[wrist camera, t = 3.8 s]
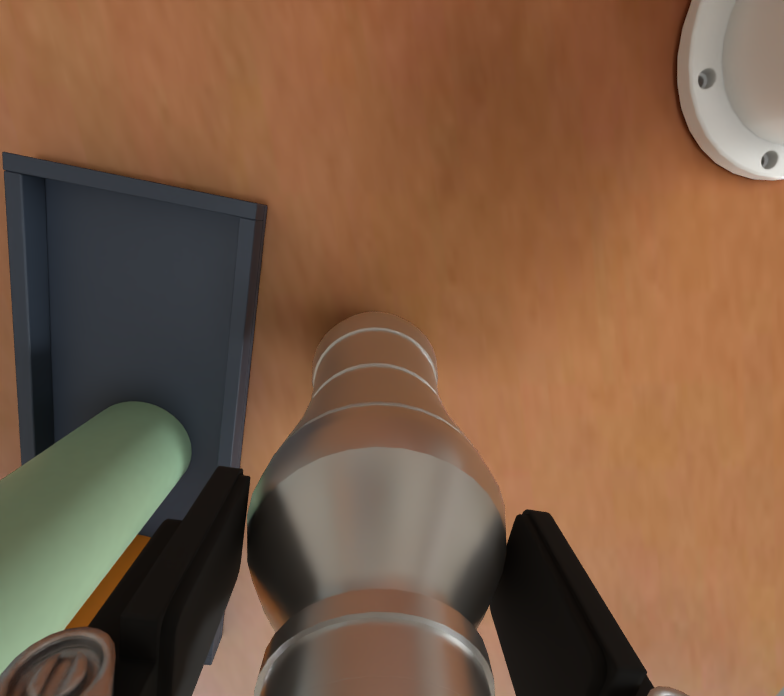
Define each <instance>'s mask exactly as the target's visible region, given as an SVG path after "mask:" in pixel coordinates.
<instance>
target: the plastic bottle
mask: <svg viewBox="0 0 784 696" xmlns="http://www.w3.org/2000/svg"><path fill="white" fill-rule="evenodd" d="M437 382H438V372H437V360H436V356H435V353H434V350H433V347H432V345H431V344H430V342H429V340H428V338H427V337H426V336H425V335H424V334H423V333H422V332H421V330H420V329H418V328H417V327H416V326H414V325H413V324H412V323H410V322H409V321H407V320H405V319H403V318H401V317H399V316H397V315H393V314H390V313H386V312H375V311H373V312H364V313H360V314H356V315H353V316H351V317H349V318H347V319H345V320H343V321H341V322H339V323H338V324H336V325H335V326H334V327H333V328H332V329H330V330H329V331H328V332H327V333H326V335H325V336H324V337H323V338H322V340H321V341H320V343H319V345H318V347H317V349H316V351H315V355H314V359H313V367H312V385H313V393H312V400H311V402H310V404H309V406H308V408H307V410H306V412H305V414H304V416H303V418H302V419H301V420H300V422H299V423H298V424H297V426H296V427H295V428H294V430H293V431H292V432H291V434H290V435H289V436H288V438H287V439H286V440H285V442H284V443H283V444H282V446H281V447H280V448H279V449H278V451H277V452H276V453H275V454H274V456H273V457H272V459H271V461H270V463H269V465H268V466H267V468H266V470H265V471H264V473H263V475H262V477H261V478H260V480H259V482H258V484H257V486H256V488H255V490H254V492H253V494H252V498H251V502H250V506H249V510H248V514H247V562H248V566H249V570H250V574H251V577H252V581H253V584H254V587H255V589H256V592H257V594H258V597H259V600H260V602H261V605H262V607H263V610H264V613H265V614H266V616H267V618H268V620H269V622H270V624H271V625H272V627H273V629H274V631H275V632H276V633H275V634H274V636H273V638H272V639H271V641H270V643H269V645H268V646H267V648H266V651H265V654H264V658H263V661H262V665H261V668H260V672H259V676H258V679H257V683H256V686H255V690H254V696H495V689H494V678H493V674H492V670H491V665H490V661H489V657H488V653H487V650H486V648H485V645H484V642H483V639H482V638H481V636H480V635H479V633H478V632H477V628H478V626H479V625H480V623H481V621H482V619H483V617H484V615H485V613H486V611H487V609H488V607H489V604H490V602H491V600H492V597H493V595H494V592H495V590H496V588H497V585H498V583H499V580H500V578H501V575H502V573H503V568H504V563H505V558H506V553H507V552H506V524H505V505H504V502H503V499H502V495H501V492H500V488H499V486H498V484H497V482H496V480H495V479H494V477H493V475H492V473H491V472H490V470H489V468H488V467H487V465H486V464H485V462H484V460H483V459H482V457H481V455H480V454H479V452H478V450H477V449H476V448H475V447H474V446H473V445H472V443H471V442H470V441H469V440H468V438H467V437H466V436H465V435H464V433H463V432H462V431H461V430H460V428H459V427H458V426H457V425H456V424H455V422H454V421H453V420H452V419H451V417H450V416H449V415H448V413H447V411H446V409H445V407H444V406H443V404H442V402H441V400H440V398H439V395H438V389H437Z"/></svg>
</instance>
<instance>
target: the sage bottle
mask: <svg viewBox="0 0 784 696" xmlns="http://www.w3.org/2000/svg"><path fill="white" fill-rule="evenodd" d="M191 455H192V448H191V442H190V439H189V436H188V434H187V432H186V430H185V428H184V427H183V425H182V424H181V423H180V422H179V421H178V420H177V419H176V418H175V417H174V416H173V415H172V414H170V413H169V412H167V411H166V410H164V409H162V408H160V407H158V406H156V405H153V404H150V403H145V402H137V401H128V402H122V403H118V404H115V405H112V406H110V407H108V408H107V409H105V410H103V411H102V412H100V413H99V414H97V415H96V416H94V417H93V418H92V419H90V420H89V421H87V422H86V423H84V424H83V425H81V426H80V427H78V428H77V429H75V430H74V431H72V432H71V433H69V434H68V435H67V436H65V437H64V438H62V439H61V440H59V441H58V442H56V443H55V444H53V445H52V446H50V447H49V448H47V449H46V450H44V451H43V452H41V453H40V454H39V455H37V456H36V457H34V458H33V459H31V460H30V461H28V462H27V463H25V464H24V465H22V466H21V467H19V468H18V469H16V470H15V471H13V472H12V473H11V474H9V475H8V476H6V477H5V478H3V479H2V480H0V675H1V673H2V672H3V671H4V670H5V669H6V668H7V666H8V665H9V664H10V663H11V662H12V661H13V660H14V658H15V657H17V656H18V655H19V654H20V653H22V652H23V651H24V650H25V649H27V648H28V647H29V646H31V645H32V644H34V643H36V642H37V641H39V640H41V639H43V638H45V637H46V636H48V635H50V634H53V633H56V632H59V631H62V630H64V629H65V628H66V626H67V625H68V624H69V623H70V621H71V620H72V619H73V617H74V616H75V615H76V613H77V612H78V611H79V610H80V608H81V607H82V606H83V604H84V603H85V602H86V600H87V599H88V598H89V597H90V595H91V594H92V593H93V591H94V590H95V589H96V587H97V586H98V585H99V584H100V582H101V581H102V580H103V578H104V577H105V576H106V574H107V573H108V572H109V571H110V569H111V568H112V567H113V565H114V564H115V563H116V561H117V560H118V559H119V558H120V556H121V555H122V554H123V552H124V551H125V550H126V548H127V547H128V546H129V545H130V543H131V542H132V541H133V539H134V538H135V537H136V535H137V534H138V533H139V532H140V530H141V529H142V528H143V526H144V525H145V524H146V522H147V521H148V520H149V519H150V517H151V516H152V515H153V513H154V512H155V511H156V509H157V508H158V507H159V506H160V504H161V503H162V502H163V500H164V499H165V498H166V496H167V495H168V494H169V493H170V491H171V490H172V489H173V487H174V486H175V485H176V483H177V482H178V481H179V480H180V478H181V477H182V476H183V474H184V473H185V472H186V470H187V468H188V466H189V464H190V461H191Z"/></svg>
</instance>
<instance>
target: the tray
mask: <svg viewBox="0 0 784 696" xmlns="http://www.w3.org/2000/svg"><path fill="white" fill-rule="evenodd" d="M2 156H3V169H4V170H6V171H4V181H5V198H6V215H7V231H8V248H9V265H10V281H11V298H12V315H13V331H14V348H15V365H16V381H17V398H18V414H19V431H20V448H21V464H22V465H24V464H25V463H27V462H28V461H30V460H31V459H33V458H34V457H36V456H37V455H39V454H40V453H41V452H43V451H44V450H46V449H47V448H49V447H50V446H52V445H53V444H55V443H56V442H58V441H59V440H61V439H62V438H64V437H65V436H67V435H68V434H69V433H71V432H72V431H74V430H75V429H77V428H78V427H80V426H81V425H83V424H84V423H86V422H87V421H89V420H90V419H92V418H93V417H94V416H96V415H97V414H99V413H100V412H102V411H103V410H105V409H107V408H108V407H110V406H112V405H115V404H118V403H122V402H128V401H137V402H145V403H150V404H153V405H156V406H158V407H160V408H162V409H164V410H166V411H167V412H169V413H170V414H172V415H173V416H174V417H175V418H176V419H177V420H178V421H179V422H180V423H181V424H182V425H183V427H184V428H185V430H186V432H187V434H188V436H189V439H190V442H191V448H192V455H191V461H190V464H189V466H188V468H187V470H186V472H185V473H184V474H183V476H182V477H181V478H180V480H179V481H178V482H177V483H176V485H175V486H174V487H173V489H172V490H171V491H170V493H169V494H168V495H167V496H166V498H165V499H164V500H163V502H162V503H161V504H160V506H159V507H158V508H157V509H156V511H155V512H154V513H153V515H152V516H151V517H150V519H149V520H148V521H147V522H146V524H145V525H144V526H143V528H142V529H141V530H140V532H139V533H138V534H137V535H144V536H147V537H152V536H153V534H154V533H155V532H156V530H157V529H158V527H159V526H160V525H161V524H162V522H163V521H164V520H166V519H175V520H183V519H184V517H185V516H186V514H187V513H188V511H189V510H190V508H191V507H192V505H193V503H194V502H195V500H196V499H197V497H198V496H199V494H200V493H201V491H202V490H203V488H204V487H205V485H206V484H207V482H208V480H209V479H210V477H211V476H212V474H213V473H214V471H215V470H216V468H217V467H218V466H226V467H233V468H240V460H241V451H242V441H243V432H244V422H245V413H246V404H247V394H248V385H249V375H250V366H251V356H252V347H253V338H254V328H255V319H256V309H257V300H258V290H259V281H260V271H261V262H262V253H263V243H264V234H265V224H266V215H267V205H263V204H258V203H253V202H248V201H244V200H239V199H234V198H229V197H224V196H219V195H214V194H209V193H204V192H199V191H194V190H189V189H185V188H180V187H175V186H170V185H165V184H160V183H155V182H150V181H145V180H140V179H135V178H130V177H126V176H121V175H116V174H111V173H106V172H101V171H96V170H91V169H86V168H81V167H76V166H71V165H67V164H62V163H57V162H52V161H47V160H42V159H37V158H32V157H27V156H22V155H17V154H12V153H7V152H2ZM223 621H224V614H223V616H222V619H221V622H220V624H219V627H218V629H217V632H216V635H215V637H214V640H213V642H212V645H211V647H210V650H209V653H208V655H207V658H206V660H205V663H204V665H211V664H212V662H213V659H214V656H215V654H216V651H217V648H218V645H219V643H220V640H221V638H222V630H223Z"/></svg>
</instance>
